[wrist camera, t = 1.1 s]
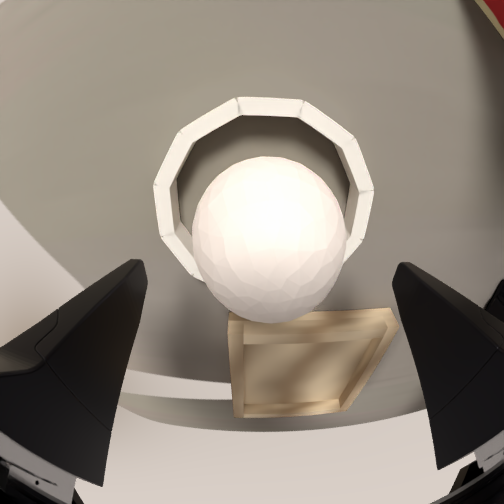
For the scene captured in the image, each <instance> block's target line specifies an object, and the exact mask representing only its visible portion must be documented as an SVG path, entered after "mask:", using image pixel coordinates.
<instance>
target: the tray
mask: <svg viewBox="0 0 504 504" xmlns="http://www.w3.org/2000/svg"><path fill="white" fill-rule="evenodd" d="M398 328H399V325H398V323H397V321H396V319H395V317H394V315H393V313H392V311H391V309H390V308H379V309H363V310H345V311H320V312H309V313H307V314H305V315H303V316H301V317H298V318H296V319H294V320H292V321H288V322H281V323H273V324H270V323H262V322H255V321H251V320H248V319H245V318H243V317H240V316H238V315H237V314H235V313H233V312H229V320H228V349H229V363H230V376H231V389H232V401H233V412H234V418H273V417H293V416H307V415H317V414H326V413H334V412H342V411H347V409H348V408H349V407H350V405H351V404H352V403H353V401H354V400H355V398H356V397H357V395H358V394H359V393H360V391H361V390H362V388H363V387H364V385H365V384H366V382H367V381H368V379H369V378H370V376H371V375H372V373H373V371H374V370H375V368H376V367H377V365H378V363H379V362H380V360H381V358H382V357H383V355H384V353H385V352H386V350H387V348H388V346H389V345H390V343H391V341H392V339H393V337H394V336H395V334H396V332H397V330H398Z"/></svg>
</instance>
